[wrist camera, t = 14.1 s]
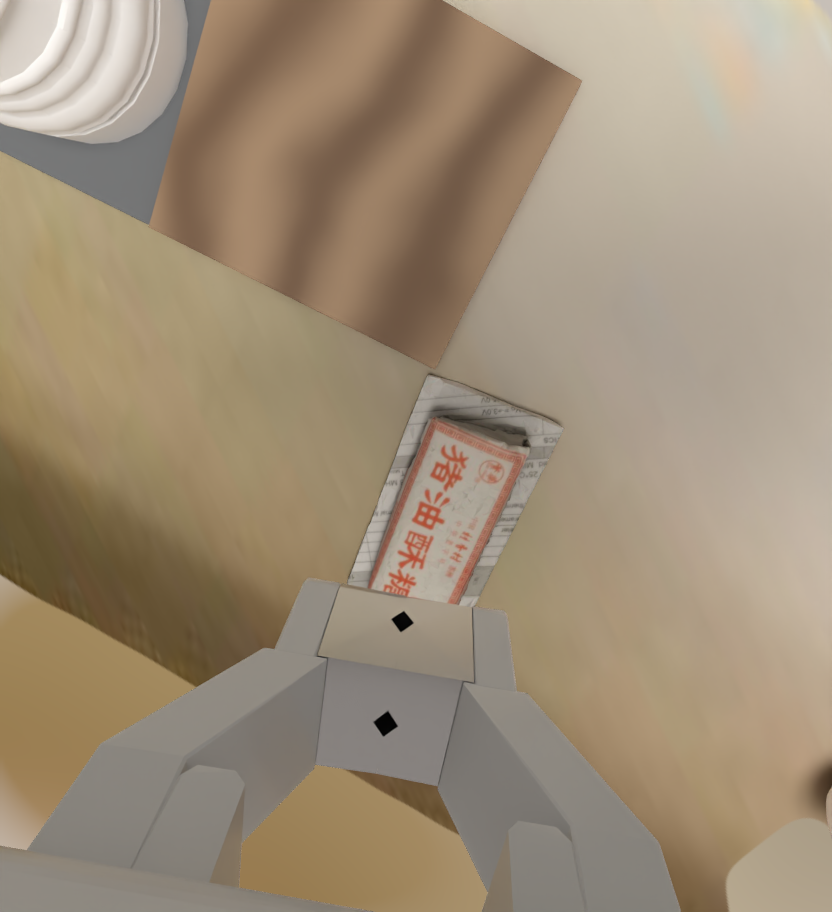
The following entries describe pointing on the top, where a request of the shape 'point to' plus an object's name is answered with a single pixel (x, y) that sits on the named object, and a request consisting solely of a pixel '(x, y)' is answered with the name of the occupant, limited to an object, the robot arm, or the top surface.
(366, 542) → the packaged product
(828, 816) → the white tall oval piece
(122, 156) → the trivet mat
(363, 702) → the robot arm
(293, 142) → the cutting board
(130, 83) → the honey pot
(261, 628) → the top surface
